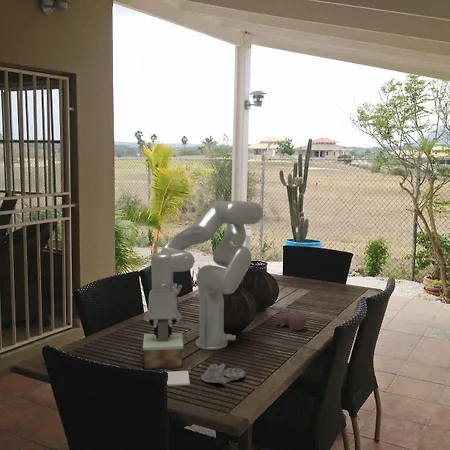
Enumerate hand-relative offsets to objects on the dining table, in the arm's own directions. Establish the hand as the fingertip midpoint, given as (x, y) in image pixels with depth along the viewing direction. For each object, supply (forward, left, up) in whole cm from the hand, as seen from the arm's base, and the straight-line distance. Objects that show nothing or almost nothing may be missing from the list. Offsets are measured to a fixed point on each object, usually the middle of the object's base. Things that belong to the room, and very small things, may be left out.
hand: (163, 336), depth 191 cm
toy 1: (-6, -52, -10) cm, 53 cm away
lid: (0, 0, -2) cm, 2 cm away
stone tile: (-3, +16, -9) cm, 19 cm away
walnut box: (0, 0, -9) cm, 9 cm away
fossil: (-20, +16, -10) cm, 27 cm away
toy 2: (-55, -32, -10) cm, 64 cm away
